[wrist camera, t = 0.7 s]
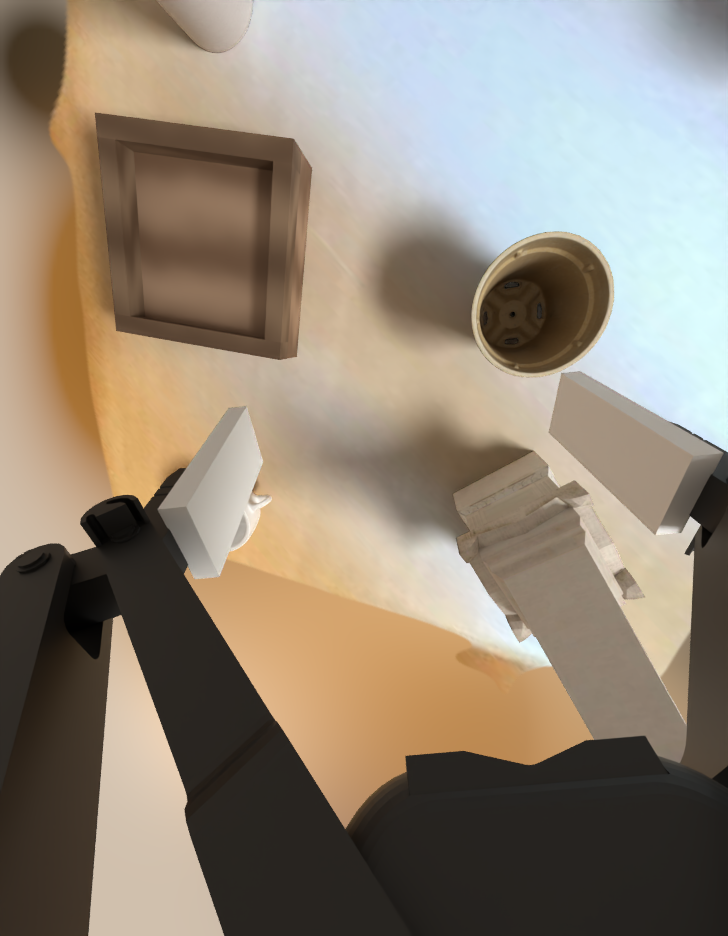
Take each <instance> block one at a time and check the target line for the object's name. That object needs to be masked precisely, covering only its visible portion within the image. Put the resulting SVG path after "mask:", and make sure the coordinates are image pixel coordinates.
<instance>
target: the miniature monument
mask: <svg viewBox="0 0 728 936" xmlns="http://www.w3.org/2000/svg"><path fill="white" fill-rule="evenodd" d="M453 497H454V501H455V505H456V509H457V512H458V514H459V515H460V517H461V518H462V520H463V521H464V523H465V524H466V526H467V527H468V529H469V530H470V531H469V532H467V533H465V534H463V535H461V536H459V537H457V538H456V540H457V545H458V550H459V554H460V556H461V557H462V558H463V560H464V561H465V562H466V563H469V562H470V564H471V566H472V567H473V569H474V571H475V572H476V574H477V576H478V577H479V579H480V581H481V582H482V584H483V586H484V587H485V589H486V591H487V592H488V594H489V596H490V597H491V598H492V599H493V601H494V602H495V603H496V604H497V606H498V607H499V608H500V609H501V611H502V612H503V613H504V614H505V616H506V618H507V621H508V623H509V625H510V627H511V629H512V631H513V633H514V635H515V636H516V638H517V640H518V641H519V643H520V642H522V641H523V640H525V639H526V638H528V637H529V636H530V635H531V634H533V636H534V637H536V638H537V640H538V642H539V643H540V645H541V647H542V649H543V650H544V652H545V654H546V656H547V657H548V659H549V661H550V663H551V664H552V666H553V668H554V669H555V671H556V673H557V675H558V677H559V678H560V680H561V682H562V684H563V686H564V687H565V689H566V691H567V693H568V694H569V696H570V698H571V700H572V701H573V703H574V704H575V707H576V708H577V710H578V712H579V714H580V715H581V717H582V719H583V720H584V722H585V724H586V726H587V728H588V729H589V731H590V733H591V735H592V736H593V738H594V740H598V739H610V738H622V737H633V736H646V738H647V739H648V741H649V743H650V744H651V746H652V748H653V749H654V751H655V753H656V754H657V756H661V757H664V758H667V759H670V760H673V761H676V762H678V763H680V762H681V759H682V757H683V754H684V750H685V746H686V734H687V725H686V723H685V721H684V719H683V718H682V716H681V714H680V712H679V710H678V709H677V707H676V705H675V703H674V702H673V700H672V698H671V696H670V694H669V693H668V691H667V689H666V687H665V686H664V684H663V682H662V680H661V678H660V677H659V675H658V673H657V671H656V669H655V668H654V666H653V664H652V662H651V661H650V659H649V657H648V655H647V653H646V652H645V650H644V648H643V646H642V644H641V643H640V641H639V639H638V637H637V636H636V634H635V632H634V630H633V628H632V627H631V625H630V623H629V621H628V619H627V618H626V616H625V614H624V612H623V611H622V609H621V606H623V605H625V604H626V603H625V601H624V599H639V598H644V597H645V596H644V594H643V592H642V591H641V589H640V587H639V586H638V584H637V583H636V581H635V580H634V579H633V577H632V576H631V574H630V573H629V572H628V571H627V569H626V568H625V566H624V564H623V562H622V559H621V557H620V555H619V553H618V551H617V548H616V546H615V544H614V542H613V540H612V539H611V537H610V535H609V534H608V532H607V531H606V529H605V527H604V526H603V524H602V522H601V521H600V519H599V517H598V516H597V514H596V512H595V511H594V509H593V507H592V506H594V503H593V501H592V498H591V496H590V494H589V493H588V492H587V491H586V490H585V489H584V488H582V487H581V486H580V485H579V484H578V483H577V482H576V481H575V480H574V481H572V482H570V483H568V484H566V485H564V486H562V487H560V485H559V483H558V481H557V480H556V478H555V476H554V474H553V472H552V471H551V469H550V467H549V465H548V464H547V463H546V462H545V461H544V460H543V459H542V458H541V457H540V456H539V455H538V454H537V453H536V452H535V451H533V452H531V453H529V454H527V455H525V456H523V457H521V458H519V459H518V460H516V461H514V462H512V463H510V464H508V465H506V466H504V467H502V468H501V469H499V470H497V471H495V472H493V473H491V474H489V475H487V476H485V477H484V478H482V479H480V480H478V481H476V482H474V483H472V484H470V485H468V486H466V487H465V488H463V489H461V490H459V491H457V492H455V493H453Z"/></svg>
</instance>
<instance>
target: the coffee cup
mask: <svg viewBox="0 0 728 936" xmlns="http://www.w3.org/2000/svg"><path fill="white" fill-rule="evenodd" d="M156 1H157V2H158V3H159V4H160V5H161V6H162V8H163V9H164V10H165V11H166V12H167V13H168V14H169V15H170V16H171V17H172V18H173V20H174V21H175V22H176V23H177V24H178V25H179V26H180V27H181V28H182V29H183V30H184V32H185V33H186V34H187V35H188V36H189V37H190V38H191V39H192V40H193V41H194V42H195V43H196V44H197V45H198V46H200V47H201V48H203V49H205V50H207V51H210V52H216V53H218V52H224V51H227V50H229V49H231V48H233V47H234V46H235V45H236V44H237V43H238V42H239V41H240V40H241V39H242V37H243V36H244V34H245V32H246V30H247V28H248V26H249V23H250V20H251V15H252V9H253V0H156Z"/></svg>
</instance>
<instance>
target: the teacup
mask: <svg viewBox="0 0 728 936" xmlns="http://www.w3.org/2000/svg"><path fill="white" fill-rule="evenodd" d="M271 500H272V498H271V496H270V495H255V494H254V493H253V492H251V495H250V498H249V500H248V503H247V506H246V508H245V511H244V513H243V516H242V519H241V521H240V524H239V527H238V529H237V532H236V535H235V537H234V540H233V542H232V545H231V548H230V550H229V551H233V550H236V549H238V548H240V547H241V546H242V545H244V544H245V543H246V542H247V541H248V539H249V538H250V536H251V535H252V533H253V532H254V530H255V528H256V526H257V524H258V521H259V518H260V508H261V507H263V506H265V505H267V504H268V503H269V502H270V501H271Z"/></svg>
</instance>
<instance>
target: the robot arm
mask: <svg viewBox="0 0 728 936" xmlns="http://www.w3.org/2000/svg"><path fill="white" fill-rule="evenodd" d="M549 433H550V434H551V435H552V436H553V437H554V438H555V439H556V440H557V441H558V442H559V443H560V444H561V445H562V446H563V447H564V448H565V449H566V450H567V451H568V452H569V453H570V454H571V455H572V456H574V457H575V458H576V459H577V460H578V461H579V462H580V463H581V464H582V465H583V466H584V467H585V468H586V469H587V470H588V471H589V472H590V473H591V474H592V475H593V476H594V477H595V478H596V479H597V480H598V481H600V482H601V483H602V484H603V485H604V486H605V487H606V488H607V489H608V490H609V491H610V492H611V493H612V494H613V495H614V496H615V497H616V498H617V499H618V500H619V501H620V502H621V503H622V504H623V505H624V506H626V507H627V508H628V509H629V510H630V511H631V512H632V513H633V514H634V515H635V516H636V517H637V518H638V519H639V520H640V521H641V522H642V523H643V524H644V525H645V526H646V527H647V528H648V529H649V530H650V531H651V532H653V533H654V534H655V535H661V534H672V533H681V532H682V530H683V528H684V527H685V525H686V523H687V521H688V519H689V517H690V516H691V517H692V518H693V519H694V520H696V521H697V522H698V523H699V524H701V525H700V527H699V529H698V531H697V533H696V534H695V536H694V538H693V540H692V541H691V543H690V545H689V547H688V548H687V550H686V552H685V554H686V555H690V554H691V552H692V551H694V571H693V594H692V618H691V641H690V664H689V688H688V711H687V734H686V746H685V750H684V754H683V757H682V759H681V762H680V763H678V762H676V761H673V760H670V759H667V758H664V757H661V756H657V754H656V753H655V751H654V749H653V748H652V746H651V744H650V743H649V741H648V739H647V738H646V736H633V737H622V738H610V739H598V740H586V741H584V742H582V743H580V744H578V745H575V746H573V747H571V748H569V749H567V750H565V751H563V752H561V753H559V754H557V755H554V756H552V757H550V758H548V759H546V760H544V761H542V762H540V763H537V764H535V765H524V764H520V763H515V762H511V761H506V760H502V759H497V758H493V757H488V756H483V755H479V754H475V753H470V752H466V751H458V752H446V753H434V754H423V755H412V756H406V769H407V772H405V773H403V774H401V775H399V776H397V777H394V778H393V779H391V780H390V781H388V782H387V783H385V784H384V785H382V786H381V787H380V788H378V789H377V790H376V791H375V792H374V793H373V794H372V795H371V796H370V797H369V798H368V799H367V800H366V801H365V802H364V803H363V805H362V806H361V807H360V808H359V809H358V811H357V812H356V814H355V815H354V817H353V818H352V820H351V821H350V823H349V824H348V826H347V828H346V829H345V828H344V827H343V825H342V823H341V822H340V820H339V819H338V817H337V816H336V814H335V812H334V811H333V809H332V808H331V806H330V804H329V803H328V801H327V800H326V798H325V796H324V795H323V793H322V792H321V790H320V788H319V787H318V785H317V784H316V782H315V780H314V779H313V777H312V776H311V774H310V773H309V771H308V769H307V768H306V766H305V765H304V763H303V761H302V760H301V758H300V757H299V755H298V753H297V752H296V750H295V749H294V747H293V745H292V744H291V742H290V741H289V739H288V738H287V736H286V735H285V733H284V731H283V730H282V729H281V727H280V725H279V724H278V723H277V722H276V721H275V719H274V718H273V716H272V715H271V713H270V712H269V710H268V709H267V707H266V705H265V704H264V702H263V701H262V699H261V697H260V696H259V694H258V693H257V691H256V689H255V688H254V686H253V685H252V683H251V681H250V680H249V678H248V677H247V675H246V673H245V672H244V670H243V668H242V667H241V666H240V664H239V662H238V660H237V659H236V657H235V656H234V654H233V652H232V651H231V649H230V648H229V646H228V644H227V643H226V641H225V640H224V638H223V637H222V635H221V633H220V632H219V630H218V628H217V627H216V625H215V624H214V622H213V620H212V619H211V617H210V616H209V614H208V612H207V611H206V609H205V608H204V606H203V604H202V603H201V601H200V600H199V598H198V596H197V595H196V593H195V592H194V590H193V589H192V587H191V585H190V584H189V582H188V580H187V579H186V577H185V576H184V573H185V570H186V568H187V566H188V568H189V570H190V571H191V573H192V575H193V577H194V579H202V578H212V577H220V574H221V571H222V569H223V566H224V563H225V561H226V558H227V556H228V553H229V550H230V548H231V545H232V542H233V540H234V537H235V535H236V532H237V529H238V527H239V524H240V521H241V519H242V516H243V513H244V511H245V508H246V506H247V503H248V500H249V498H250V495H251V492H252V490H253V487H254V484H255V482H256V479H257V477H258V474H259V471H260V469H261V466H262V463H263V459H262V456H261V453H260V449H259V446H258V443H257V439H256V436H255V432H254V429H253V426H252V422H251V419H250V415H249V412H248V409H247V406H244V407H235V408H228V410H227V411H226V413H225V414H224V416H223V417H222V418H221V420H220V421H219V423H218V424H217V425H216V427H215V428H214V430H213V431H212V433H211V434H210V435H209V437H208V438H207V440H206V441H205V443H204V444H203V445H202V447H201V448H200V450H199V451H198V452H197V454H196V455H195V457H194V458H193V460H192V461H191V462H190V464H189V465H188V467H187V468H181V469H178V470H177V471H175V472H174V473H173V474H171V475H170V476H169V477H167V478H166V480H165V481H164V482H163V484H162V485H161V486H160V489H158V490H157V492H156V493H155V494H154V497H152V498H151V500H150V501H149V502H148V504H147V505H146V506H145V507H144V509H143V507H142V505H141V503H140V501H139V500H138V498H136V497H135V496H133V495H122V496H116V497H113V498H110V499H107V500H104V501H102V502H100V503H99V504H97V505H95V506H94V507H92V508H91V509H89V510H88V511H87V512H86V513H85V514H84V515H83V517H82V518H81V522H80V524H81V526H82V527H83V529H84V530H85V531H86V533H87V534H88V535H89V537H90V538H91V540H92V541H93V542H94V544H95V545H96V547H94V548H91V549H88V550H84V551H81V552H78V553H75V554H71V555H70V554H69V552H68V551H67V550H66V548H65V547H64V546H62V545H61V544H47V545H43V546H39V547H37V548H34V549H31V550H28V551H26V552H24V554H21V555H20V556H18V557H17V558H16V559H15V560H13V561H12V562H11V563H10V564H9V565H8V566H6V568H5V569H4V571H3V572H2V573H1V575H0V936H88V932H89V918H90V906H91V893H92V892H91V891H92V880H93V868H94V855H95V842H96V829H97V816H98V804H99V791H100V777H101V764H102V751H103V740H104V727H105V714H106V701H107V688H108V675H109V663H110V650H111V637H112V624H113V618H114V617H116V616H119V615H122V617H123V620H124V623H125V625H126V628H127V631H128V634H129V637H130V639H131V642H132V645H133V647H134V650H135V653H136V656H137V658H138V661H139V664H140V667H141V670H142V672H143V675H144V678H145V681H146V683H147V686H148V689H149V691H150V694H151V697H152V700H153V702H154V705H155V708H156V711H157V713H158V716H159V719H160V722H161V724H162V727H163V730H164V733H165V735H166V738H167V741H168V744H169V746H170V749H171V752H172V754H173V757H174V760H175V763H176V766H177V768H178V771H179V774H180V776H181V779H182V782H183V785H184V788H185V791H186V794H187V801H188V802H187V805H186V807H185V816H186V823H187V826H188V830H189V833H190V836H191V839H192V842H193V845H194V848H195V851H196V854H197V857H198V860H199V863H200V866H201V869H202V872H203V875H204V878H205V880H206V883H207V886H208V889H209V892H210V895H211V898H212V901H213V904H214V907H215V910H216V913H217V915H218V918H219V921H220V924H221V927H222V930H223V933H224V936H728V452H726V451H724V450H723V449H721V448H719V447H717V446H715V445H714V444H712V443H710V442H708V441H707V440H703V438H701V437H699V436H698V435H696V434H692V432H691V431H689V430H687V429H685V428H683V427H682V426H680V425H678V424H675V423H672V422H669V421H667V420H665V419H663V418H661V417H660V416H658V415H656V414H654V413H653V412H651V411H649V410H647V409H646V408H644V407H642V406H640V405H638V404H637V403H635V402H633V401H631V400H630V399H628V398H626V397H624V396H623V395H621V394H619V393H617V392H616V391H614V390H612V389H610V388H609V387H607V386H605V385H603V384H602V383H600V382H598V381H596V380H595V379H593V378H591V377H589V376H587V375H586V374H584V373H582V372H580V371H578V372H569V373H561V378H560V382H559V387H558V392H557V396H556V401H555V406H554V410H553V415H552V420H551V424H550V429H549Z"/></svg>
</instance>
